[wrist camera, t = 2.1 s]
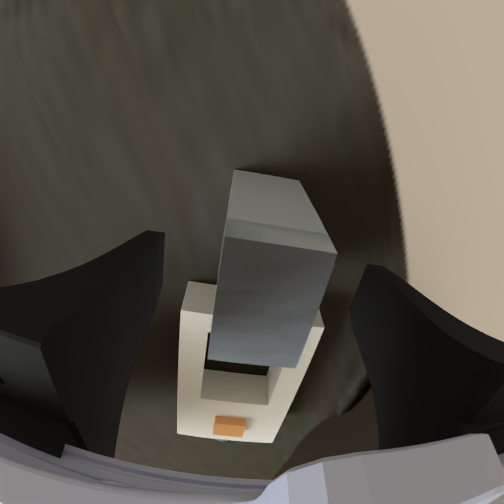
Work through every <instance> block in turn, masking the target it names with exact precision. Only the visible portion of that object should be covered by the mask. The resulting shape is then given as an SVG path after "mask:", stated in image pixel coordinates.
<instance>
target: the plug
mask: <svg viewBox="0 0 504 504" xmlns="http://www.w3.org/2000/svg"><path fill="white" fill-rule="evenodd" d="M337 255H338V253H337V251H336V249H335V247H334V245H333V243H332V241H331V239H330V237H329V235H328V233H327V232H326V230H325V228H324V226H323V224H322V222H321V220H320V218H319V216H318V214H317V212H316V211H315V209H314V207H313V205H312V203H311V201H310V199H309V198H308V196H307V194H306V192H305V190H304V188H303V187H302V185H301V183H300V181H298V180H293V179H288V178H282V177H277V176H271V175H265V174H260V173H254V172H248V171H241V170H235V169H234V174H233V180H232V186H231V192H230V199H229V205H228V211H227V217H226V224H225V230H224V237H223V243H222V250H221V257H220V264H219V271H218V279H217V286H216V293H215V301H214V309H213V317H212V325H211V333H210V341H209V349H208V357H207V359H210V360H217V361H225V362H233V363H242V364H252V365H262V366H272V367H284V368H296V366H297V364H298V361H299V359H300V356H301V354H302V351H303V349H304V346H305V344H306V341H307V339H308V336H309V333H310V331H311V328H312V326H313V323H314V320H315V318H316V315H317V312H318V309H319V307H320V304H321V301H322V298H323V296H324V293H325V290H326V287H327V284H328V281H329V278H330V276H331V273H332V270H333V267H334V264H335V261H336V258H337Z"/></svg>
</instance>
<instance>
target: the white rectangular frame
mask: <svg viewBox="0 0 504 504" xmlns="http://www.w3.org/2000/svg"><path fill="white" fill-rule="evenodd" d="M216 286H217V285H212V284H206V283H199V282H192V281H188V284H187V288H186V292H185V296H184V300H183V304H182V307H181V315H180V334H179V358H178V395H177V434H183V435H190V436H197V437H205V438H214V439H217V440H219V441H227V440H234V441H247V442H263V443H272V442H273V440H274V438H275V436H276V434H277V432H278V430H279V428H280V426H281V424H282V422H283V420H284V418H285V416H286V414H287V412H288V409H289V407H290V405H291V403H292V401H293V399H294V397H295V395H296V392H297V390H298V388H299V386H300V384H301V382H302V379H303V377H304V375H305V373H306V370H307V368H308V366H309V364H310V361H311V359H312V357H313V354H314V352H315V350H316V347H317V345H318V342H319V340H320V338H321V335H322V333H323V330H324V324H323V321H322V317H321V314H320V310H319V309H318V312H317V315H316V318H315V320H314V323H313V326H312V328H311V331H310V333H309V336H308V339H307V341H306V344H305V346H304V349H303V351H302V354H301V356H300V359H299V361H298V364H297V366H296V368H284V367H272V366H269V369H268V372H267V375H266V376H262V375H252V374H242V373H233V372H224V371H216V370H209V369H204V362H205V354H206V346H207V338H208V332H209V333H211V325H212V317H213V309H214V301H215V293H216Z"/></svg>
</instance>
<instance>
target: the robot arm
mask: <svg viewBox="0 0 504 504" xmlns="http://www.w3.org/2000/svg"><path fill="white" fill-rule="evenodd" d="M164 239H165V233H163V232H156V231H149V230H147V231H145V232H143V233H141V234H139V235H137V236H136V237H134V238H132V239H131V240H129V241H127V242H125V243H124V244H122V245H120V246H118V247H117V248H115V249H113V250H111V251H109V252H107V253H105V254H103V255H101V256H99V257H98V258H96V259H94V260H92V261H90V262H87V263H85V264H83V265H81V266H78V267H76V268H73V269H71V270H68V271H65V272H63V273H59V274H56V275H53V276H50V277H46V278H43V279H40V280H36V281H32V282H28V283H23V284H18V285H13V286H7V287H0V504H504V342H502V341H500V340H497V339H495V338H493V337H491V336H488V335H486V334H484V333H482V332H480V331H478V330H477V329H475V328H473V327H471V326H469V325H467V324H465V323H464V322H462V321H460V320H459V319H457V318H456V317H454V316H452V315H451V314H449V313H448V312H446V311H445V310H443V309H442V308H440V307H439V306H438V305H436V304H435V303H433V302H432V301H431V300H429V299H428V298H427V297H425V296H424V295H422V294H421V293H420V292H418V291H417V290H416V289H415V288H413V287H412V286H411V285H409V284H408V283H407V282H405V281H404V280H403V279H401V278H400V277H399V276H397V275H396V274H394V273H393V272H391V271H390V270H388V269H386V268H385V267H383V266H379V265H372V264H367V266H366V268H365V271H364V273H363V276H362V279H361V281H360V284H359V286H358V289H357V291H356V294H355V296H354V298H353V301H352V303H351V306H350V308H349V309H350V315H351V321H352V326H353V331H354V334H355V337H356V340H357V343H358V346H359V349H360V352H361V355H362V358H363V361H364V364H365V367H366V370H367V373H368V376H369V380H370V383H371V387H372V392H373V397H374V403H375V409H376V417H377V425H378V436H379V450H376V451H368V452H356V453H351V454H345V455H339V456H333V457H326V458H321V459H319V460H315V461H313V462H309V463H306V464H303V465H300V466H297V467H293V468H291V469H289V470H288V471H286V472H285V473H283V474H282V475H280V476H279V477H277V478H276V479H274V480H260V479H240V478H226V477H215V476H206V475H198V474H190V473H183V472H177V471H171V470H165V469H159V468H154V467H149V466H144V465H139V464H135V463H130V462H126V461H122V460H118V459H114V455H115V448H116V441H117V435H118V429H119V423H120V418H121V412H122V408H123V403H124V398H125V394H126V389H127V385H128V381H129V377H130V373H131V370H132V366H133V363H134V360H135V357H136V354H137V351H138V349H139V347H140V344H141V342H142V339H143V337H144V334H145V332H146V330H147V327H148V325H149V322H150V320H151V318H152V315H153V313H154V310H155V308H156V305H157V302H158V298H159V295H160V291H161V287H162V283H163V258H164Z"/></svg>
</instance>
